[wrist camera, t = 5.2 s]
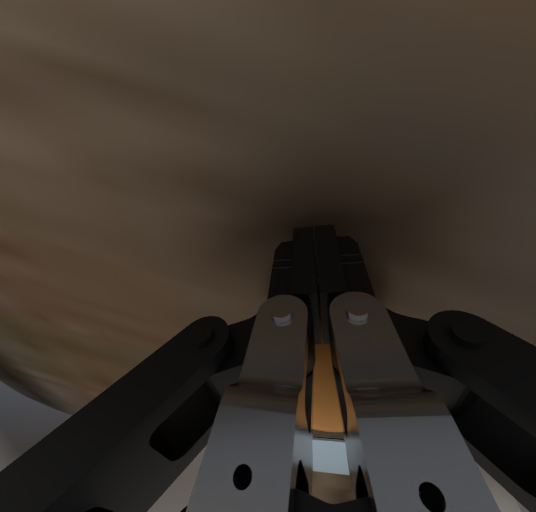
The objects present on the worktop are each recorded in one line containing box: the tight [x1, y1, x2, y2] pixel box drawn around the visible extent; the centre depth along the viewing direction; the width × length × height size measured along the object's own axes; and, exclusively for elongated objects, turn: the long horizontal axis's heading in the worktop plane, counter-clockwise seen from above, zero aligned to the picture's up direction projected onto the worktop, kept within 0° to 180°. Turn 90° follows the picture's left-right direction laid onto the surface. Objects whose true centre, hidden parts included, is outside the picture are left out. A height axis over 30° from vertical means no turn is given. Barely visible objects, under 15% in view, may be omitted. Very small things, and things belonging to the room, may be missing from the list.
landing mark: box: [312, 437, 350, 475], centre depth 27 cm, size 11×11×1 cm
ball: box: [312, 278, 343, 432], centre depth 10 cm, size 6×6×6 cm
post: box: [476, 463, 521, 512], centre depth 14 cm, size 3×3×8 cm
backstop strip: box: [312, 471, 354, 504], centre depth 30 cm, size 10×2×3 cm, turn 102°
